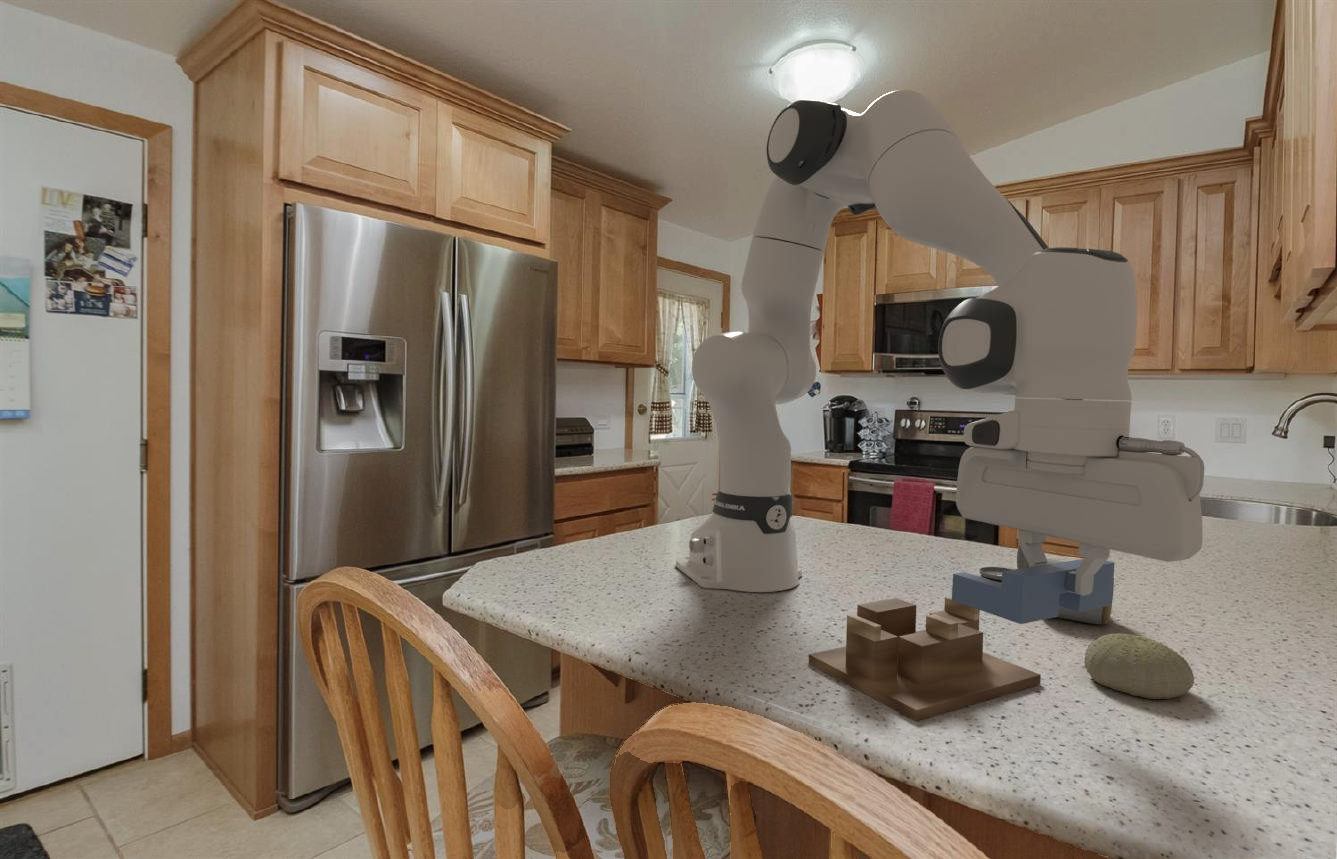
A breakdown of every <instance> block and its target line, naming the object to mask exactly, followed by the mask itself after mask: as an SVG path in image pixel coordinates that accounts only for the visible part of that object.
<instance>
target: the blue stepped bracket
mask: <svg viewBox="0 0 1337 859" xmlns="http://www.w3.org/2000/svg"><path fill="white" fill-rule="evenodd" d="M1084 559H1085V558H1081V559H1074V560H1073V559H1072V560H1068V561H1067V560H1066V561H1063V562H1060V563H1053V564H1047V565H1040V566H1034V567H1027V568H1020V569H1018V568H1014V570H1007V571H1002V580H1001V582H999V581H997V580H994V579H992V580H991V579H990V578H987V577H982V576H978V575H975V574H973V573H972V574H971V573H968V572H966V571H963V572H955V573H952V585H951V586H952V588H951V597H952V601H955V602H958V603H961V604H964V605H967V606H970V607H973V608H975V609H978V610H980V611H982V612H985V613H987V614H991V615H993V616H996V617H999V618H1002V619H1005V620H1008V621H1010V622H1014V623H1016V624H1019V625H1024V624H1028V623H1034V622H1038V621H1042V620H1043V621H1044V620H1048V619H1052V618H1058V610H1059V606H1061V607H1064V608H1067V609H1071V610H1074V611H1077V612H1082V611H1086V610H1091V609H1096V608H1101V607H1105V606H1110V605H1112V606H1113V600H1112V594H1113V595H1114V590H1113V579H1114V580H1115V578H1114V577H1115V565H1116V564H1115V562H1114V561H1110V560H1106V562H1105V563H1104V564H1103V565H1102V566H1101V568H1100V569H1099V570H1098V571H1097V573H1096V574H1094V580H1093V590H1092V592H1091V594H1088V595H1083V596H1082V595H1079V594H1075V593H1072V592H1069V591H1066V590H1065V588H1064V584H1065V583H1066V580H1065V572H1066V571H1073V570H1077V569H1078V567H1079V566H1080V564H1081V563H1082V561H1083V560H1084Z"/></svg>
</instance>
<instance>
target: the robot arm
mask: <svg viewBox="0 0 1337 859" xmlns="http://www.w3.org/2000/svg"><path fill="white" fill-rule="evenodd" d="M766 159H767V163H768V167H769V169H770V171H771V172H772V173H773V174H774V175H775V177H773V179H772V181H771V183H770V184H769V188H768V189H767V192H766V194H765V197H764V199H763V201H762V205H761V207H760V210H759V213H758V216H757V218H756V222H755V226H754V230H753V233H752V238H751V242H750V245H749V250H748V254H747V259H746V263H745V267H744V272H743V276H742V279H741V286H740V287H741V293H742V296H743V298H744V299H745V302H746V306H747V310H748V331H747V332H746V331H738V330H737V331H736V330H734V331H728V332H727V331H726V332H722V333H718V334H715V335H714V334H713V335H711V336H708V337H707V338H706V339H705V340H703V341H702V342H700V344H699V345H698V347H697V348H696V350H695V352H694V355H693V358H692V362H691V374H692V375H691V376H692V378H693V382H694V384H695V386H696V388H697V389H698V390H699V392H701V394H702V395H703V396H704V398H705V399H706V401H707V402H708V405H709V408H710V410H711V412H712V416H713V419H714V422H715V427H716V430H717V436H718V441H719V442H718V443H719V490H718V491H717V492H716V493H715V492H714V493H711V496H716V497H714V498H713V497H712V498H711V501H714V504H713V507H712V512H713V513H712V514H711V515H710V516H709V517H708V518H706V520H705V521H704V522H703V523H701V524H700V525H699V526H698V527H697V528H696V529H695V530H694V531H692V533H691V536H690V540H689V541H688V542H689V543H688V546H689V555H688V556H684V557H681V558H678V559H676V560H675V565H674V566H675V567H676V568H678V570H680V571H681V572H682V573H684V575H686V576H688V577H689V578H690V579H691V580H693V581H694V582H695V583H696V584H698V585H699V586H700V587H702V588H704V589H719V590H720V589H723V590H724V589H725V590H731V591H740V592H749V593H750V592H752V593H769V592H779V591H785V590H786V591H787V590H790V589H792V588H795V587H797V586H798V585H799V583H800V580H799V578H800V577H801V576H802V575H803V573H802V572H803V571H802V568H801V567H799V566H798V552H797V541H796V540H797V538H796V527H795V526H794V524H792V522H791V517H792V516H793V515H794V514H793V512H794V511H793V510H794V509H793V508H794V500H793V498H794V496H793V493H791V472H792V471H791V469H792V468H791V464H792V463H791V462H792V458H791V457H792V447H791V443H790V440H789V439H788V437H787V436H786V435H785V433H784V432H783V429H782V427H781V424H780V420H779V415H778V412H777V406H776V405H785V404H788V403H790V402H793V401H795V400H798V399H799V398H802V397H804V396H805V395H806V394H807V393H808V392H810V390H811V388H813V386H814V383H815V381H816V378H817V365H816V361H815V358H814V356H813V354H812V350H811V317H812V305H813V299H814V295H815V292H816V291H815V290H816V286H817V283H818V279H819V278H818V277H819V275H820V272H821V267H822V262H823V258H824V255H825V250H826V247H827V243H828V238H829V233H830V228H831V226H832V222H833V221H834V218H835V216H836V215H837V214H838V213H839V212H840V211H841V210H843V209H844V208H847V209H848V210H849V212H850V213H851V214H852V215H854V216H857V215H862V214H863V213H866V212H869V211H873V210H876V211H877V212H878V214H879V215H880V217H881V218H882V220H883V221H884V222H885V223H886V225H887V226H888V227H889V228H890V229H891V230H892V231H893V232H894V234H896V235H897V236H900V238H903V239H905V240H906V241H910V242H912V243H915V244H918V245H921V246H924V247H929V248H933V249H935V250H939V251H942V252H946V253H948V254H952V255H954V256H956V257H960V258H962V259H965V260H967V261H968V262H971V263H973V264H974V265H976V266H978V267H980V268H981V269H983V270H984V271H985V272H986V273H988V275H989V276H990V277H991V278H992V279H993V280H994V282H995V283H996V285H997V287H995V288H993V289H992V290H990V291H988V292H985V293H983V294H982V295H980V296H978V297H971V298H967V299H965V300H963V301H962V302H961V303H959V304H958V305H957V306H956V307H954V309H952V310H951V312H950V313H949V314H948V315H947V317H946V319H945V320H944V322H943V324H942V328H941V329H940V333H939V336H938V337H939V338H938V346H937V347H938V348H937V350H938V352H937V353H938V358H939V363H940V366H941V369H942V371H943V373H944V375H945V376H946V378H947V379H948V380H949V381H950V382H951V383H952V384H953V386H955V387H956V388H959V389H961V390H967V391H970V392H973V393H980V394H999V395H1001V394H1003V395H1007V396H1015V397H1014V408H1013V410H1009V411H1006V412H1003V413H1000V414H997V415H993V416H990V417H986V418H983V419H980V420H976V421H973V422H970V423H968V424H965V426H964V429H963V441H964V443H965V444H966V445H967V446H969V448H967V449H965V451H964V452H963V454H962V455H961V457H960V461H959V465H958V471H957V473H958V474H957V481H956V490H955V491H956V492H955V494H956V495H955V504H956V507H957V510H958V512H959V513H960V515H961V517H963V518H964V519H967V520H972V521H977V522H982V523H985V524H990V525H995V526H999V527H1004V528H1009V529H1013V530H1018V534H1017V542H1018V546H1019V545H1020V547H1021V549H1022V551H1023V553H1024V555H1025V557H1026V560H1027V562H1029V567H1034V566H1040V565H1047V564H1053V563H1049V562H1048V561H1047V559H1048V558H1047V556H1046V554H1045V551H1044V548H1043V546H1042V543H1046V542H1047V537H1051V538H1055V539H1059V540H1065V541H1069V542H1070V541H1071V542H1074V543H1078V555H1079V556H1082V557H1084V558H1083V559H1084V560H1083V561H1082V563H1081V564H1080V566H1079V567H1078V569H1077V570H1073V571H1066V572H1065V580H1066V583H1065V584H1064V588H1065V590H1066V591H1069V592H1072V593H1075V594H1079V595H1082V596H1083V595H1088V594H1091V592H1092V590H1093V580H1094V574H1096V573H1097V571H1098V570H1099V569H1100V568H1101V566H1102V565H1103V564H1104V563H1105V562H1106V561H1108V559H1109V558H1110V554H1111V552H1110V551H1111V550H1112V551H1115V552H1120V553H1121V552H1122V553H1125V554H1129V555H1134V556H1138V557H1143V558H1149V559H1152V560H1153V559H1154V560H1159V561H1162V562H1168V563H1169V562H1181V561H1184V560H1185V561H1186V560H1189V559H1191V558H1193V557H1194V556H1196V554H1198V553H1199V552H1200V551H1201V549H1202V547H1203V515H1202V512H1203V511H1202V504H1201V495H1200V493H1201V492H1202V490H1203V486H1204V478H1205V463H1204V460H1203V459H1202V457H1201V456H1200V455H1199V454H1198V453H1197V452H1196V450H1193V449H1192V448H1189V447H1186V446H1185V444H1184V442H1182V441H1177V440H1169V439H1168V440H1167V439H1164V440H1153V439H1148V438H1145V437H1144V438H1143V437H1142V438H1141V437H1133V436H1132V437H1131V436H1130V428H1131V413H1132V412H1131V411H1132V400H1133V399H1132V392H1131V391H1132V390H1131V388H1130V384H1129V378H1128V376H1129V375H1128V374H1129V368H1130V365H1131V364H1130V363H1131V361H1132V358H1133V356H1134V354H1135V351H1136V344H1137V342H1136V341H1137V326H1138V294H1137V293H1138V292H1137V284H1136V276H1135V273H1134V270H1133V267H1132V264H1131V262H1130V260H1129V259H1128V258H1126V257H1125V256H1124V255H1123V254H1121V253H1118V252H1115V251H1111V250H1106V249H1095V248H1079V247H1078V248H1077V247H1067V246H1066V247H1065V246H1063V247H1061V246H1060V247H1048V245H1047V244H1046V242H1045V241H1044V239H1042V236H1040V234H1039V233H1038V232H1037V231H1036V229H1035V228H1034V226H1033V225H1032V224H1031V223H1030V222H1029V220H1028V219H1027V218H1026V217H1025V215H1023V213H1021V212H1020V210H1018V209H1017V208H1016V207H1015V205H1013V203H1012V202H1011V201H1009V199H1008V198H1006V197H1005V196H1004V195H1003V194H1002V193H1001V192H1000V191H999V189H997V188H996V186H995V185H994V184H993V183H992V182H991V181H990V180H989V179H988V177H987V176H986V175H985V174H984V173H983V171H981V169H980V168H979V167H978V165H977V164H976V163H975V162H974V160H973V158H971V156H970V155H969V153H968V151H967V150H966V149H965V147H964V146H963V144H962V142H961V140H960V139H959V137H958V135H957V134H956V132H955V130H954V128H953V127H952V126H951V124H950V123H949V121H948V120H947V119H946V118H945V116H944V115H943V114H942V113H941V112H940V110H939V109H938V108H937V107H936V106H935V105H934V104H933V103H932V102H931V101H930V100H929V99H928V98H926V96H924V95H922V94H921V93H919V92H917V91H915V90H914V91H913V90H910V89H900V90H899V89H898V90H894V91H891V92H887V93H886V94H883V95H882V96H880V97H879V98H877V99H876V100H874V101H873V102H872V103H871V104H869V106H868V107H867V109H866V110H865V111H864V112H862V113H859V112H854V111H851V110H848V109H846V108H843V107H842V106H841V105H840V104H837V103H834V102H833V103H832V102H828V101H824V100H817V99H798V100H795V101H792V102H791V103H790V104H788V105H787V106H786V107H785V108H783V109H782V110H781V111H780V113H778V115H777V116H776V118H775V120H774V121H773V124H772V125H771V128H770V130H769V132H768V138H767V143H766ZM1184 453H1185V454H1188V455H1189V456H1187V455H1183V454H1184Z"/></svg>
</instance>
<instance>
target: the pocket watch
mask: <svg viewBox="0 0 1337 859" xmlns="http://www.w3.org/2000/svg"><path fill="white" fill-rule="evenodd" d="M1016 566H1017V568H1016V569H1020V568H1027V567H1029V562H1027V560H1026V557H1025V555H1024V553H1023V551H1022V549H1021V547H1020V545H1019V544H1018V547H1017V554H1016ZM1014 569H1015V568H1014ZM1014 569H1013V568H1008V567H1002V566H1000V567H999V566H985V567H980V568H979V574H980V575H981V576H983V577H984V578H986V579H990V580H991V579H992V580H994V581H1002V576H997V575H1002V571H1007V570H1014Z"/></svg>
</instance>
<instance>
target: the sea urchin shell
mask: <svg viewBox="0 0 1337 859" xmlns="http://www.w3.org/2000/svg"><path fill="white" fill-rule="evenodd" d="M1084 668H1085V669H1086V672H1087V673H1088V674H1089V676H1090V677H1091V678H1092V679H1093V680H1094V681H1095V682H1096V683H1098V684H1099V685H1101V686H1102V687H1105V688H1108V689H1109V688H1110V689H1113V690H1115V691H1117V692H1122V693H1125V694H1128V695H1130V696H1134V697H1135V696H1136V697H1142V698H1145V699H1150V700H1160V699H1161V700H1162V699H1165V700H1169V699H1172V698H1178V697H1181V696H1184V695H1185V694H1186V693H1188V691H1190V690H1191V688H1193V687H1194V684H1195V676H1194V672H1193V669H1192V667H1191V666H1190V664H1189V662H1188V661H1187V660H1186V659H1185V658H1184V657H1183V656H1182V655H1181V654H1179V653H1178V652H1177V651H1175V650H1174V649H1173V648H1171V647H1168V645H1165V644H1163V643H1162V642H1158V641H1157V640H1155V639H1151V638H1148V637H1145V636H1140V635H1139V636H1138V635H1135V634H1130V633H1110V634H1106V635H1101V636H1099V637H1098V638H1096V639H1095V640H1093V641H1091V643H1089V644H1088V645H1087V647H1086V649H1085V653H1084Z"/></svg>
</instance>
